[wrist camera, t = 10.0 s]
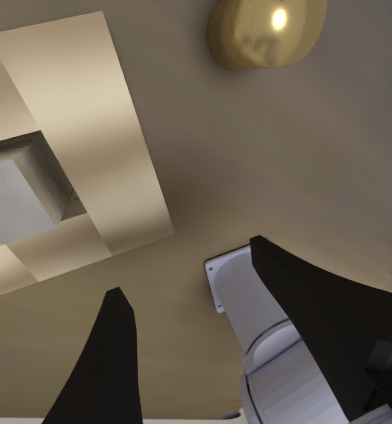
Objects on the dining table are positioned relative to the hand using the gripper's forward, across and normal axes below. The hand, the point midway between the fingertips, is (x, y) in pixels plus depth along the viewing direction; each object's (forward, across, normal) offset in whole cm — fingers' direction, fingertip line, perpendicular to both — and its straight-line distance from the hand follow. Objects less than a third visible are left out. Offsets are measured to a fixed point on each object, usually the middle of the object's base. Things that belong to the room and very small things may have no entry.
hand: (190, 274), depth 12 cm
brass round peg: (+9, -8, -10) cm, 16 cm away
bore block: (+9, +8, -5) cm, 13 cm away
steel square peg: (+10, +8, -5) cm, 14 cm away
